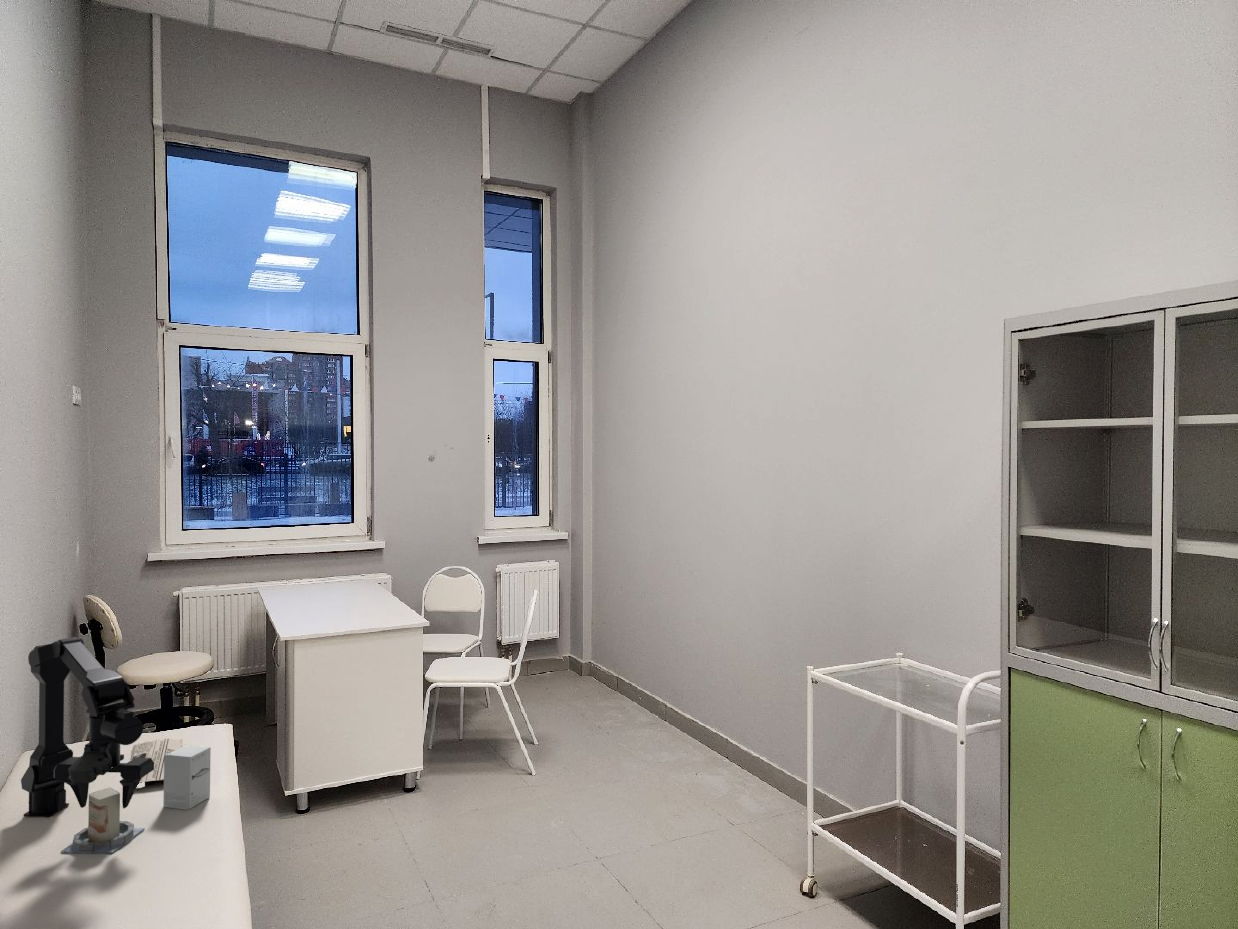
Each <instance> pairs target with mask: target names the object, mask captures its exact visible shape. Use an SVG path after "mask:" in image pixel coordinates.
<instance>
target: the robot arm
mask: <svg viewBox="0 0 1238 929" xmlns="http://www.w3.org/2000/svg"><path fill="white" fill-rule="evenodd" d="M27 659H28V664H29V667H30V673H31V674H32V675H33V676H34V678H35V679H36V680H37V681H38V683H39V684H38V686H39V688H38V689H39V690H38V692H39V693H38V698H39V699H38V744H37V746H36V747H35V749H34V751H33V752H32V753H31V755H30V756H29V765H28V767H27V769H26V770H25V772H24V774H23V775H22V777H21V779H20V784H21V789H22V790H23V791H25V792H28V811H27V812H24V813H23V817H30V818H32V817H33V818H34V817H36V818H38V817H39V818H41V817H43V818H50V817H52V816H54V815H56V814H58V813H59V812H60V811H62V810H64V809H65V808H67V807H69V806H70V803H69V802H68V803H67V789H66V788H65V785H66V784H67V785H68V786H70V788H71V790H72V791H73V793H74V796H75V799H76V800H77V803H78V804H79V807H80V808H81V809H83V808H85V807H86V806H87V801H88V799H89V786H90V783H93V782H95V781H96V780H97V778H98V776H104V775H106V774H107V773H116V774H117V773H120V774H119V775H120V777H121V778H122V779H120V780H119V781H118V782H119V784H120V785H121V786H122V799H121V802H122V803H121V804H122V808H123V809H126V808H127V807H128V806H129V805H130V802H131V800H132V798H133V796H134V794H135V791H136V790H137V789H136V787H137V785H138V784H139V782H140V780H141V779H142V777H144V776H145V775H147V774H148V773H150V772H151V771H153V770H154V761H153V760H152V759H151V758H134V759H133V760H131V759H130V760H129V761H128V762H122V761H123V760H125V754H121V746H128V745H132V744H134V743H135V742H137V741H138V740H140V738H141V736H142V734H143V732H144V724H143V722H142V720H141V719H140V718H138V717H135V715H134V713H135V712H134V711H133V710H131V709H135V703H134V701H135V698H134V696H133V694H132V691H131V688H130V687H129V684H128V682H127V681H126V679H124V677H123V676H122V675H120V674H119V673H117V672H116V671H115V670H111V669H106V668H105V667H103V666H102V665H101V663H100V662H99V661H98V660H97V659H96V658H95V656H94V655H93V654H92V653H91V651H89V649H88V647H86V646H85V643H84V640H83V638H82V637H78V636H73V637H67V638H61V639H58V640H56V641H53V642H52V643H47V644H40V645H37V646H35V647H34V648H33V649H32V650H30V652H29V654H28V658H27ZM71 673H72V674H73V675H74V677H75V678H76V679H77V680H78V682H80V684H81V686H82V690H81V693H80V694H81V697H82V700H83V702H84V704H85V705H86V708H87V709H86V710H85V711H86V712H85V713H86V714H89V715H88V716H89V718H88V719H89V722H88V725H89V726H88V728H89V729H88V730H89V732H88V733H89V734H88V738H89V740H88V742H87V743H85V744H84V748H83V753H82V755H81V756H74V751H73V750H72V749H71V748H69V747H68V745H67V744H66V743H65V741H64V740H65V739H64V738H65V731H64V730H65V681H66V679H67V677H68V676H69V674H71ZM129 709H130V710H129Z"/></svg>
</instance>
